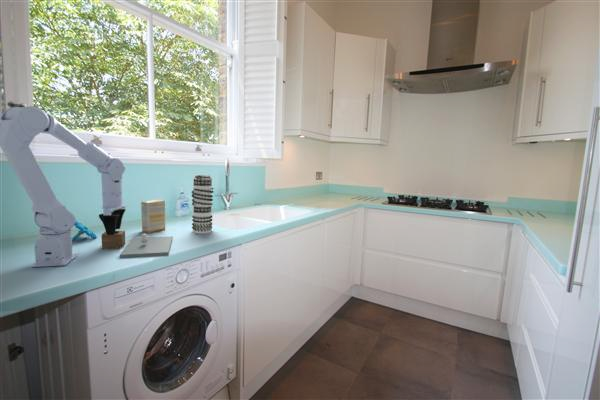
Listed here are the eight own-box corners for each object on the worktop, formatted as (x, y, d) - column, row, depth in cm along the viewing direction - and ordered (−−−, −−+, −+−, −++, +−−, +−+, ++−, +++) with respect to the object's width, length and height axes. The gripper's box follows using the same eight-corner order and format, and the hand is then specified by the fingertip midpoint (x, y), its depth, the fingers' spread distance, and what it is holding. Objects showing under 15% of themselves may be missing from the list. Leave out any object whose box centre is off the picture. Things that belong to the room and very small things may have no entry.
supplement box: (159, 227, 131) (158, 199, 129) (165, 229, 129) (165, 200, 127) (141, 231, 124) (140, 200, 122) (147, 233, 121) (147, 202, 120)
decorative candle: (217, 231, 130) (217, 175, 126) (197, 234, 123) (197, 175, 119) (206, 227, 136) (207, 174, 132) (187, 230, 129) (187, 174, 126)
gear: (97, 237, 106) (72, 219, 103) (83, 250, 104) (57, 232, 101) (99, 234, 116) (77, 217, 112) (87, 245, 114) (63, 229, 110)
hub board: (168, 255, 97) (168, 240, 96) (119, 257, 92) (119, 242, 91) (172, 238, 115) (172, 226, 114) (132, 240, 110) (132, 227, 110)
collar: (122, 248, 101) (121, 234, 100) (102, 249, 99) (101, 234, 98) (125, 243, 106) (124, 230, 105) (106, 244, 104) (105, 231, 103)
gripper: (120, 196, 94) (122, 236, 96) (129, 190, 108) (131, 226, 110) (94, 196, 92) (97, 237, 94) (107, 190, 105) (109, 227, 107)
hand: (113, 231), depth 102 cm, fingers open, 7 cm apart
